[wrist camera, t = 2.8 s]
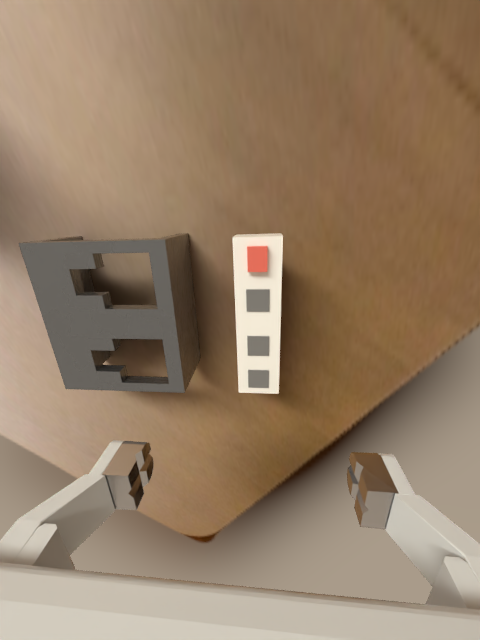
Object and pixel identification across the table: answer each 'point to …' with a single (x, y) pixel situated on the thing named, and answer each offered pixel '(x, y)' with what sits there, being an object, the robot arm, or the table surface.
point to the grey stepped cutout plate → (114, 311)
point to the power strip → (258, 310)
